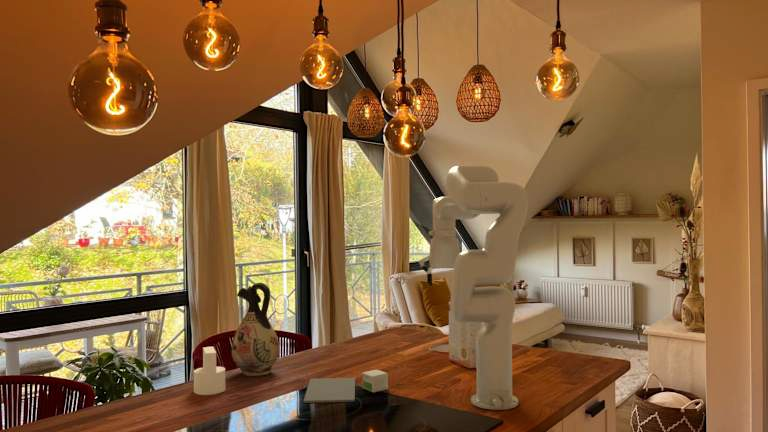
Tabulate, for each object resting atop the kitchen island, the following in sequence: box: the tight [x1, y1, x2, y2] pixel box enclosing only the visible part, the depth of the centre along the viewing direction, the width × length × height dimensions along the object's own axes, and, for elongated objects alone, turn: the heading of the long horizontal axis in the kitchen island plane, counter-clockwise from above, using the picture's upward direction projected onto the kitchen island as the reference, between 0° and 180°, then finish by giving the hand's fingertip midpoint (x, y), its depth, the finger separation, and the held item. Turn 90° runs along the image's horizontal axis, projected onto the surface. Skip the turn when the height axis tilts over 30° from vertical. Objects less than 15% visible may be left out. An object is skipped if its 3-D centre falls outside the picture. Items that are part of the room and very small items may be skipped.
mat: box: [303, 377, 356, 404], centre depth 172 cm, size 22×14×1 cm, turn 2°
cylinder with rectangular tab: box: [193, 346, 226, 396], centre depth 174 cm, size 9×9×12 cm
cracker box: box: [448, 301, 483, 369], centre depth 202 cm, size 14×6×21 cm, turn 22°
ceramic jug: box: [231, 282, 280, 377], centre depth 192 cm, size 17×15×30 cm
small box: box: [361, 369, 389, 393], centre depth 174 cm, size 6×6×5 cm
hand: (444, 285), depth 197 cm, fingers open, 9 cm apart
